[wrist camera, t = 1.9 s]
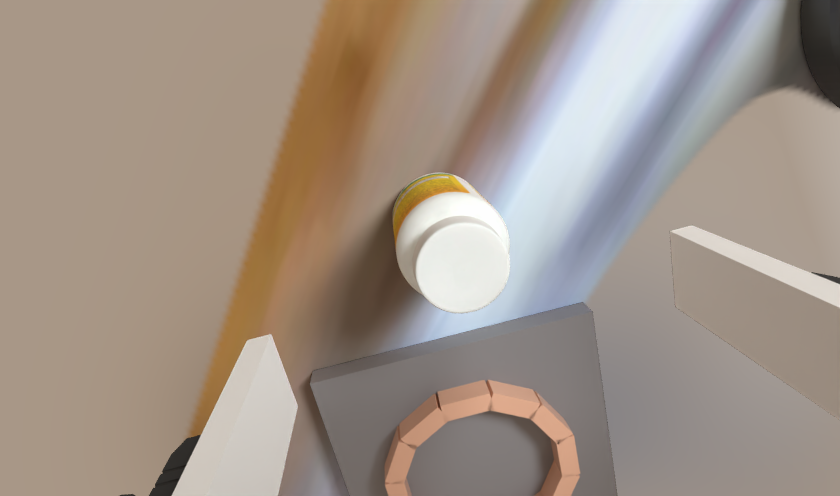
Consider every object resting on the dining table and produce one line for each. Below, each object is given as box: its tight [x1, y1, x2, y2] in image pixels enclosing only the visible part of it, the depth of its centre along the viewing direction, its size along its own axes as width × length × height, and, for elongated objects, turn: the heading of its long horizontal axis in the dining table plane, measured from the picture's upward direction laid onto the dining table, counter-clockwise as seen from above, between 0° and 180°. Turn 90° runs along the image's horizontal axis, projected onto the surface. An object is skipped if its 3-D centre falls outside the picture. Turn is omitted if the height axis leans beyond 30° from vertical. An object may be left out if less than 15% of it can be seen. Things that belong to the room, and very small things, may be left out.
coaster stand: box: [310, 302, 617, 496], centre depth 33 cm, size 18×18×3 cm
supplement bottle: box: [393, 173, 510, 313], centre depth 25 cm, size 5×5×10 cm
